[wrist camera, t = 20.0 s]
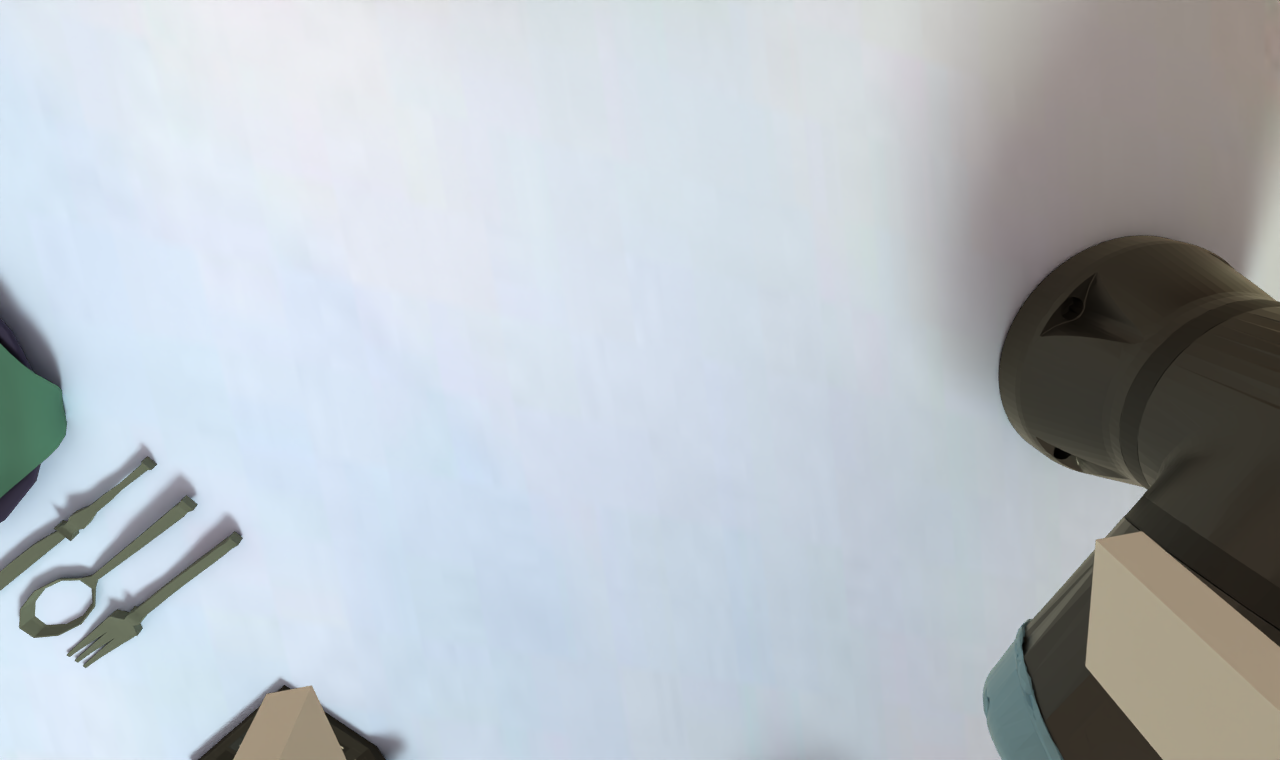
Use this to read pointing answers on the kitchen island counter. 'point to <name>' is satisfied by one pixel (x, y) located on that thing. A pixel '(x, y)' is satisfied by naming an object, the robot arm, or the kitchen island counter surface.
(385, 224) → the kitchen island counter surface
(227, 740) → the calculator
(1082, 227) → the kitchen island counter surface
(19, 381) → the cutlery set
